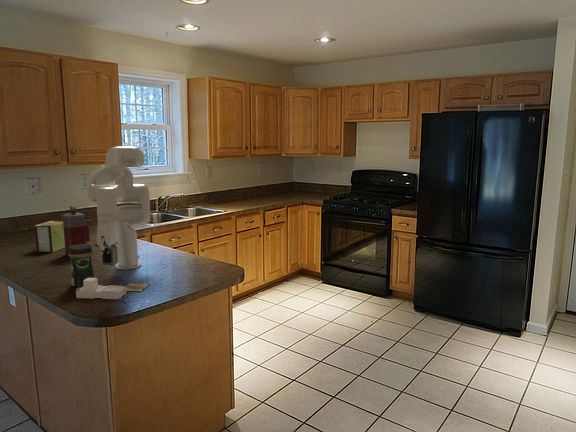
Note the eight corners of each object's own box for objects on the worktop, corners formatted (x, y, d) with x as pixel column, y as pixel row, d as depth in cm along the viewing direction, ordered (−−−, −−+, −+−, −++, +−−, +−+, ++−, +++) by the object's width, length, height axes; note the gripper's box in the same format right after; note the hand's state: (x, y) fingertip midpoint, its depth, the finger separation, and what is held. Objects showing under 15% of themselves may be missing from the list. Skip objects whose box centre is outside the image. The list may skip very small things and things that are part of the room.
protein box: (68, 246, 269) (66, 221, 266) (52, 252, 254) (50, 225, 251) (52, 245, 270) (50, 220, 267) (35, 251, 255) (33, 225, 252)
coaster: (129, 284, 198) (129, 283, 198) (148, 285, 197) (148, 284, 197) (120, 291, 189) (120, 290, 189) (140, 292, 189) (140, 290, 189)
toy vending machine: (91, 254, 251) (88, 205, 246) (71, 257, 243) (67, 207, 238) (85, 251, 257) (82, 203, 252) (65, 254, 249) (61, 205, 244)
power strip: (75, 297, 181) (74, 281, 180) (84, 292, 188) (83, 276, 187) (119, 299, 180) (118, 282, 179) (126, 293, 187) (125, 277, 186)
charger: (102, 265, 180) (101, 248, 178) (107, 261, 184) (106, 245, 183) (113, 265, 180) (112, 248, 178) (118, 262, 184) (117, 245, 183)
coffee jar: (93, 280, 204) (90, 241, 201) (96, 285, 197) (93, 244, 194) (70, 284, 198) (67, 244, 195) (72, 289, 192) (69, 247, 189)
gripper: (108, 213, 187) (110, 255, 190) (88, 221, 170) (91, 266, 174) (125, 214, 186) (127, 255, 190) (106, 221, 170) (109, 267, 173)
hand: (110, 260), depth 182 cm, fingers closed on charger, 4 cm apart
